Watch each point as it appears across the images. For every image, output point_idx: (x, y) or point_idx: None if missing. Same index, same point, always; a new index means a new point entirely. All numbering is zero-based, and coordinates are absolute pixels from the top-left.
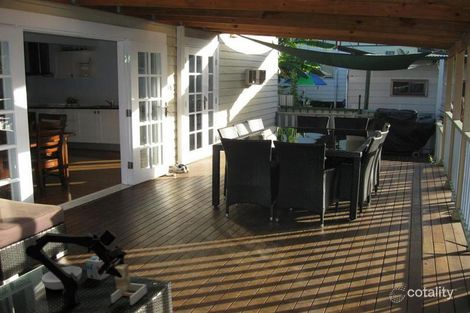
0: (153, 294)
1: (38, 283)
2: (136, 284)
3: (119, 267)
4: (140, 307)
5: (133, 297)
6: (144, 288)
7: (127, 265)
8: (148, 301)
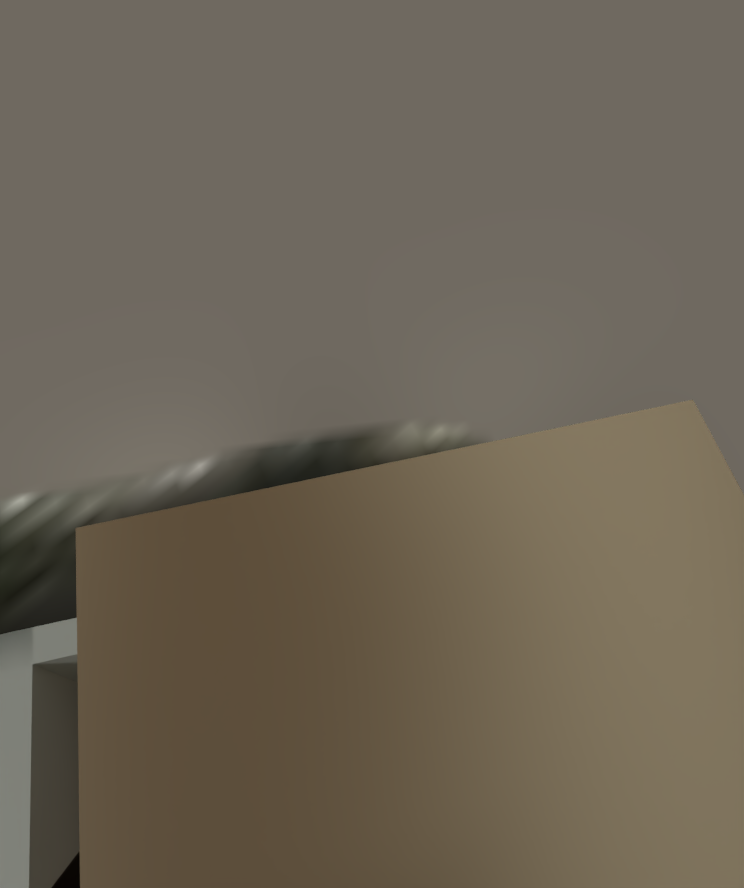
0: None
1: None
2: (23, 861)
3: (687, 759)
4: (456, 432)
5: None
6: None
7: (163, 520)
8: (295, 450)
